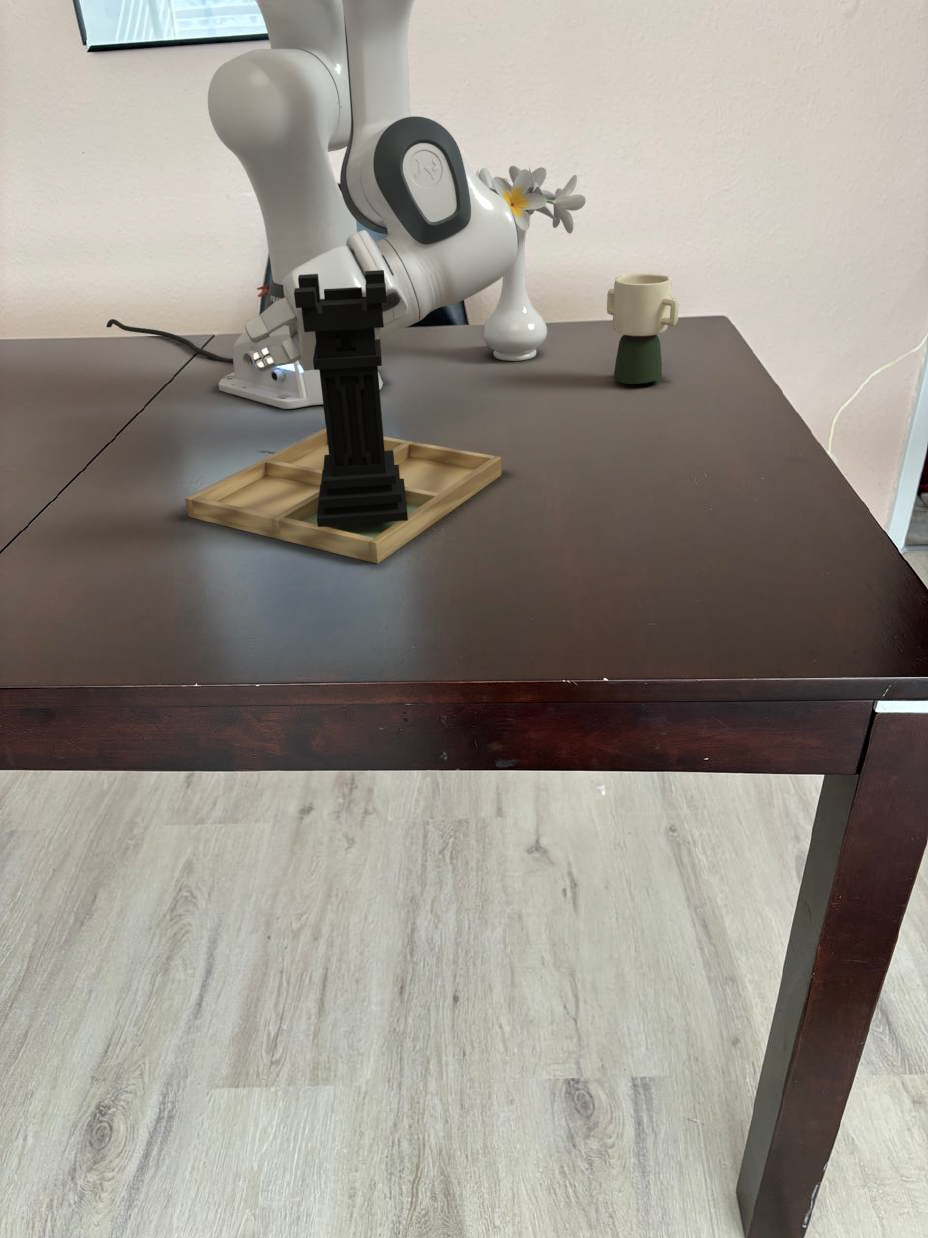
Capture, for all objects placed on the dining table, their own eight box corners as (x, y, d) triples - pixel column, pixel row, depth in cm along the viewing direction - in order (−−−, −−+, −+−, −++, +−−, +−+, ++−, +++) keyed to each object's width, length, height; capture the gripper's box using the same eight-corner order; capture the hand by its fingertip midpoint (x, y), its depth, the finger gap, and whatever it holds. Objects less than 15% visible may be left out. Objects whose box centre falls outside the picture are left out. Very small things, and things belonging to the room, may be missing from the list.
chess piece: (321, 491, 91) (294, 274, 81) (404, 486, 92) (388, 268, 82) (317, 526, 84) (288, 293, 74) (407, 520, 85) (390, 287, 75)
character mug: (688, 383, 123) (697, 279, 116) (654, 396, 119) (661, 288, 112) (621, 368, 130) (626, 269, 123) (587, 380, 126) (590, 277, 119)
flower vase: (593, 349, 139) (599, 160, 126) (498, 376, 129) (495, 173, 116) (531, 334, 148) (531, 156, 135) (439, 358, 138) (429, 168, 125)
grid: (188, 517, 92) (184, 498, 91) (329, 443, 109) (327, 426, 108) (378, 564, 82) (376, 543, 81) (501, 475, 98) (501, 456, 97)
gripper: (357, 302, 108) (246, 354, 106) (363, 220, 88) (226, 282, 86) (382, 352, 108) (272, 404, 106) (395, 282, 88) (259, 345, 86)
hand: (252, 349), depth 96 cm, fingers open, 8 cm apart
